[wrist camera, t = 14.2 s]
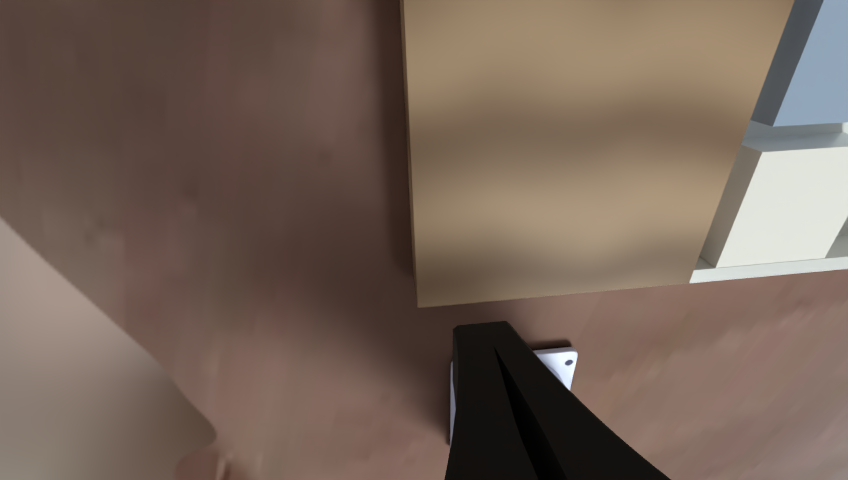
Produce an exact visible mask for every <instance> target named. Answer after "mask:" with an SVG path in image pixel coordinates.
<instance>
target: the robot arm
mask: <svg viewBox="0 0 848 480" xmlns="http://www.w3.org/2000/svg"><path fill="white" fill-rule="evenodd" d="M577 356H578V354H577V352H576V350H575V349H574V348H573V347H564V348H554V349H544V350H535V351H532V350H531V349H530V347H529V346H528V345H527V344H526V343H525V342H524V340H523V339H522V338H521V337H520V336H519V335H518V333H517V332H516V331H515V330H514V329H513V327H512V326H511V325H510V324H509V323H508V322H507V321H500V322H490V323H479V324H469V325H458V326H457V327H455V328H454V329H453V361H452V362H451V385H450V453H449V459H448V465H447V470H446V475H445V480H671V479H669V478H668V477H667V476H666V475H664V474H663V473H662V472H661V471H659V470H658V469H657V468H655V467H654V466H653V465H652V464H650V463H649V462H648V461H647V460H646V459H644V458H643V457H642V456H641V455H640V454H638V453H637V452H636V451H635V450H634V449H632V448H631V447H630V446H629V445H628V444H626V443H625V442H624V441H623V440H622V439H621V438H619V437H618V436H617V435H616V434H615V433H614V432H613V431H612V430H610V429H609V428H608V427H607V426H606V425H605V424H604V423H603V422H602V421H601V420H600V419H598V418H597V417H596V416H595V415H594V414H593V413H592V412H591V411H590V410H589V409H588V408H587V407H586V406H585V405H584V404H583V403H582V402H581V401H580V400H579V399H578V398H577V397H576V396H575V395H574V394H573V393H572V392H571V391H570V387H571V382H572V378H573V373H574V369H575V365H576V360H577Z"/></svg>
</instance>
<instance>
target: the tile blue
mask: <svg viewBox="0 0 848 480" xmlns="http://www.w3.org/2000/svg"><path fill="white" fill-rule="evenodd" d="M750 120H751V121H755V122H758V123H762V124H765V125H769V126H772V127H776V126H793V125H810V124H826V123H843V122H848V0H795V1H794V3H793V6H792V9H791V12H790V14H789V17H788V20H787V22H786V25H785V28H784V30H783V33H782V36H781V38H780V41H779V44H778V46H777V49H776V52H775V54H774V57H773V60H772V62H771V65H770V68H769V70H768V73H767V76H766V78H765V81H764V84H763V87H762V89H761V92H760V95H759V97H758V100H757V103H756V105H755V108H754V111H753V113H752V116H751V119H750Z"/></svg>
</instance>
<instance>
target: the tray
mask: <svg viewBox="0 0 848 480" xmlns="http://www.w3.org/2000/svg"><path fill="white" fill-rule="evenodd" d="M836 132H844V133H848V122H843V123H826V124H810V125H793V126H776V127H772V126H769V125H765V124H762V123H758V122H755V121H751V120H750V121H749V124H748V127H747V129H746V132H745V135H744V137H743V138H756V137H772V136H788V135H804V134H820V133H836ZM839 269H848V217H847V219H846V220H845V222H844V224H843V226H842V228H841V229H840V231H839V233H838V235H837V236H836V238H835V240H834V242H833V244H832V245H831V247H830V249H829V251H828V253H827V254H826V256H825V258H821V259H810V260H799V261H788V262H776V263H765V264H754V265H743V266H732V267H721V268H715V267H714V266H712V265H711V264H710V263H708V262H707V261H706V260H705V259H703V258H702V257H701V256H699V258H698V261H697V263H696V266H695V269H694V271H693V274H692V277H691V279H690V282H689V283H697V282H708V281H719V280H730V279H741V278H752V277H762V276H773V275H784V274H795V273H806V272H817V271H828V270H839Z"/></svg>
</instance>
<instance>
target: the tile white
mask: <svg viewBox="0 0 848 480" xmlns="http://www.w3.org/2000/svg"><path fill="white" fill-rule="evenodd" d="M847 217H848V133H844V132H836V133H820V134H804V135H788V136H772V137H756V138H743V140H742V143H741V145H740V148H739V151H738V154H737V156H736V159H735V162H734V164H733V167H732V170H731V172H730V175H729V178H728V180H727V183H726V186H725V188H724V191H723V194H722V196H721V199H720V202H719V204H718V207H717V210H716V212H715V215H714V218H713V221H712V223H711V226H710V229H709V231H708V234H707V237H706V239H705V242H704V245H703V247H702V250H701V253H700V255H699V256H701V257H702V258H703V259H705V260H706V261H707V262H708V263H710V264H711V265H712V266H714V267H715V268H721V267H732V266H743V265H754V264H765V263H776V262H788V261H799V260H810V259H821V258H825V256H826V254H827V253H828V251H829V249H830V247H831V245H832V244H833V242H834V240H835V238H836V236H837V235H838V233H839V231H840V229H841V228H842V226H843V224H844V222H845V220H846V219H847Z"/></svg>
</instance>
